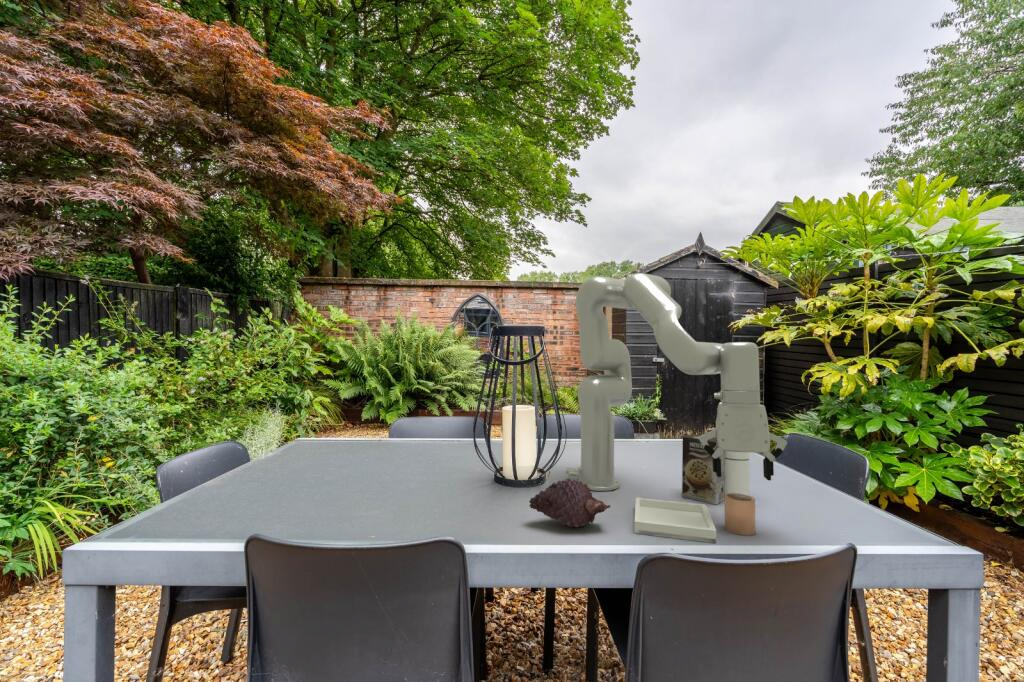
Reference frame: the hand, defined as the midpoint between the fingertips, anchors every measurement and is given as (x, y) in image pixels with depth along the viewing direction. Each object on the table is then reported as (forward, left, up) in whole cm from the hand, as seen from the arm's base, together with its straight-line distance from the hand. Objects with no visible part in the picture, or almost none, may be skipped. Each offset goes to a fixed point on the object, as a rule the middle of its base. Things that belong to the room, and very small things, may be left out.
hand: (742, 477), depth 96 cm
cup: (-1, 0, -12) cm, 12 cm away
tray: (-15, -1, -12) cm, 18 cm away
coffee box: (-6, +20, -12) cm, 24 cm away
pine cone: (-37, -9, -12) cm, 39 cm away
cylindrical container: (+2, +23, -12) cm, 26 cm away
